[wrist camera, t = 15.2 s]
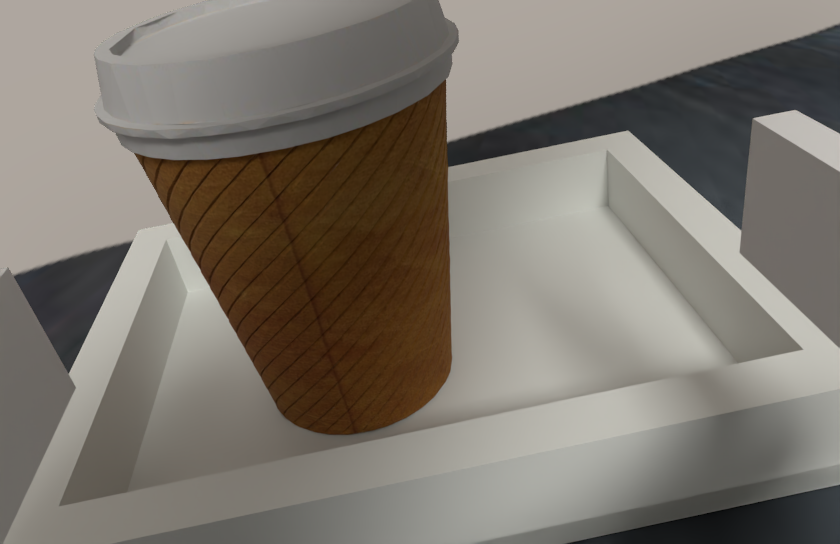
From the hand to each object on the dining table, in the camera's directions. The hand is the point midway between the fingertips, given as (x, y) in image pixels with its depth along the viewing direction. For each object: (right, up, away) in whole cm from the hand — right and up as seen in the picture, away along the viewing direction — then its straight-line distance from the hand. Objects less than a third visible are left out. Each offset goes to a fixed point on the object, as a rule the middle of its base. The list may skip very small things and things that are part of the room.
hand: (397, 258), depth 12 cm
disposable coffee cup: (-2, -4, +11) cm, 12 cm away
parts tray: (0, -3, +13) cm, 13 cm away
